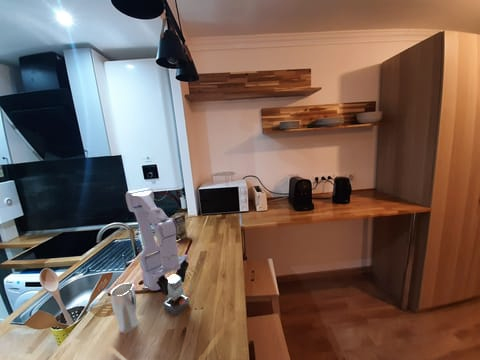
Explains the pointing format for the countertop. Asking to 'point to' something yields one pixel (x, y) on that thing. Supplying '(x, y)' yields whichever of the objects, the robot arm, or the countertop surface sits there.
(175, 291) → the grooved grey block
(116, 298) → the white tall cup
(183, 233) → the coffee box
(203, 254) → the countertop surface
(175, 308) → the jack base
